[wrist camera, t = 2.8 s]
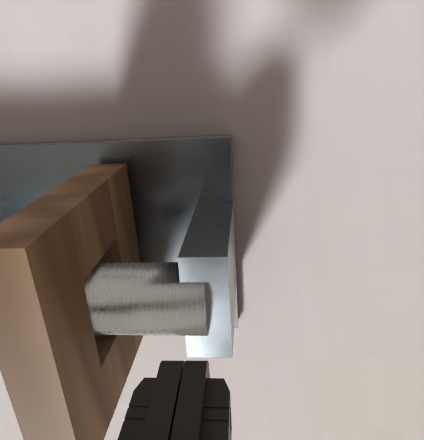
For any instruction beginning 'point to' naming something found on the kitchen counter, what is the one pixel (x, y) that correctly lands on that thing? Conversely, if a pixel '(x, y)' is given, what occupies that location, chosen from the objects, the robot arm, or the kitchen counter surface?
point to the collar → (64, 306)
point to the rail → (152, 233)
